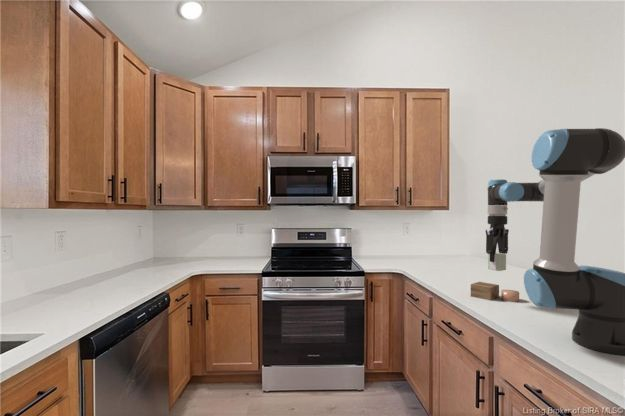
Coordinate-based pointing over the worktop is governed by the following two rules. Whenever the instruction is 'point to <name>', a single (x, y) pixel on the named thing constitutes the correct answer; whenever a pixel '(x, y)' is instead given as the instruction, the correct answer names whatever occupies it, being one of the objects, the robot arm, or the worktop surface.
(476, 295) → the walnut block
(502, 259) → the green block
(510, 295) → the brown rounded block
